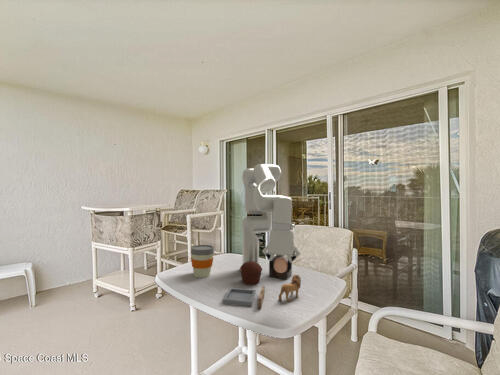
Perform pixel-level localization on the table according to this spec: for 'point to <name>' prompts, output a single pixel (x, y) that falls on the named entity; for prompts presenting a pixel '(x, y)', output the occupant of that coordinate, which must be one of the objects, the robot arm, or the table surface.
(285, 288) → the lion figurine
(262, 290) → the walnut wall
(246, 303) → the slate dish
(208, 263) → the reusable coffee cup
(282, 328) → the table surface
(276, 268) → the ball
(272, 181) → the robot arm
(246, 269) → the muffin
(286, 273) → the manual coffee grinder
